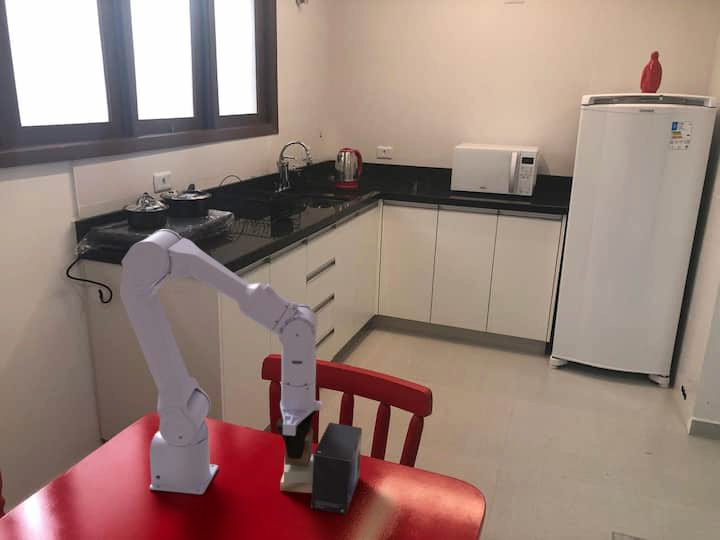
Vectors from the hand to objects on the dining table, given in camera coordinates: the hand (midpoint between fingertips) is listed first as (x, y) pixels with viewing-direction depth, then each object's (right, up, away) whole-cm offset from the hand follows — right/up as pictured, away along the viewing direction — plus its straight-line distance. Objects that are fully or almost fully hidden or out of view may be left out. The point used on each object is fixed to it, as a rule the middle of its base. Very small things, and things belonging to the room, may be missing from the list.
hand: (297, 449), depth 99 cm
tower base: (0, -7, +2) cm, 7 cm away
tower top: (0, -5, +1) cm, 5 cm away
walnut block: (0, -2, 0) cm, 2 cm away
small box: (+7, -8, 0) cm, 10 cm away
